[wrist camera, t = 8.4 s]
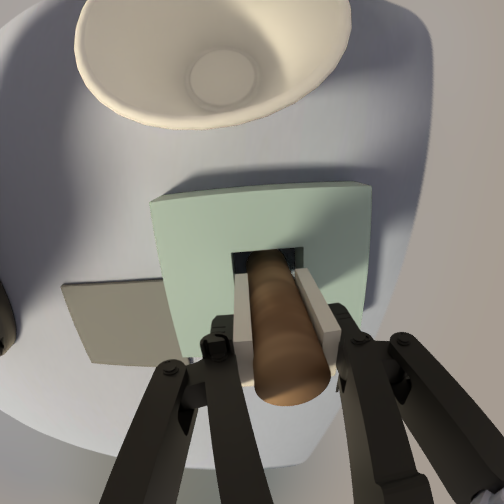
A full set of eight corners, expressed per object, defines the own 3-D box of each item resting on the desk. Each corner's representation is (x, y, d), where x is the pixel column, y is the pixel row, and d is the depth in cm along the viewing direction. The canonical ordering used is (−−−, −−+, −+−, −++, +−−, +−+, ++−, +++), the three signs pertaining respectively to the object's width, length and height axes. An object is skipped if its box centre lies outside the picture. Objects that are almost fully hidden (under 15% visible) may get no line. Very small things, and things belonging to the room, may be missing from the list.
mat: (93, 360, 24) (91, 362, 23) (62, 284, 21) (60, 286, 20) (190, 364, 24) (189, 367, 24) (169, 278, 21) (168, 281, 21)
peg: (247, 284, 21) (256, 409, 10) (244, 247, 20) (251, 359, 9) (286, 281, 21) (326, 400, 10) (285, 244, 20) (334, 349, 9)
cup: (320, 97, 17) (404, 49, 6) (204, 172, 18) (161, 195, 8) (241, 3, 14) (246, -94, 3) (129, 73, 15) (43, 20, 5)
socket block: (188, 335, 23) (182, 357, 20) (162, 195, 19) (149, 202, 16) (346, 319, 23) (358, 339, 20) (353, 181, 19) (371, 186, 16)
